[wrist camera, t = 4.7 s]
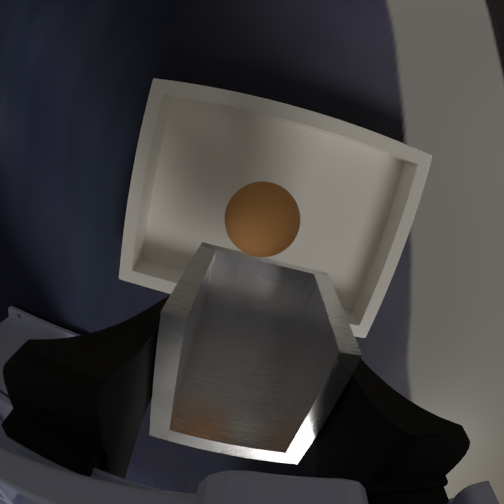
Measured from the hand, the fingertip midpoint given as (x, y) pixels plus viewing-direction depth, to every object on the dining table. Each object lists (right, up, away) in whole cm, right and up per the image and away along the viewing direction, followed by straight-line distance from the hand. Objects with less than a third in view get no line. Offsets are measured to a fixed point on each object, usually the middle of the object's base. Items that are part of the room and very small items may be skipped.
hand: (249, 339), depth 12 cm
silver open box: (0, +1, +2) cm, 3 cm away
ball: (+1, +5, +1) cm, 5 cm away
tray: (+1, +6, +7) cm, 10 cm away
